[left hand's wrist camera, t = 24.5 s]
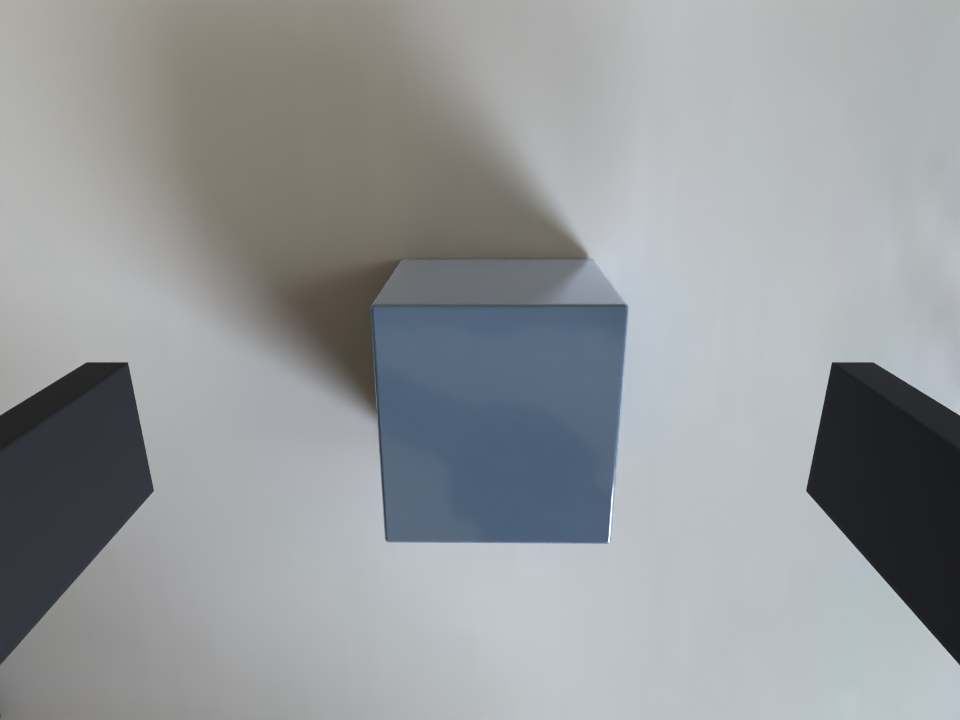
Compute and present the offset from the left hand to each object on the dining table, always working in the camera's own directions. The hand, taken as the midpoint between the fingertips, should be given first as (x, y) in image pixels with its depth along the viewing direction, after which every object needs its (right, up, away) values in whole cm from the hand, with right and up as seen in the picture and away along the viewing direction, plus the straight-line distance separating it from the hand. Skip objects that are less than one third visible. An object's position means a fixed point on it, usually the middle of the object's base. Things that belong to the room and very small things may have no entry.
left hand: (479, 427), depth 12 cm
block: (0, +1, +4) cm, 4 cm away
